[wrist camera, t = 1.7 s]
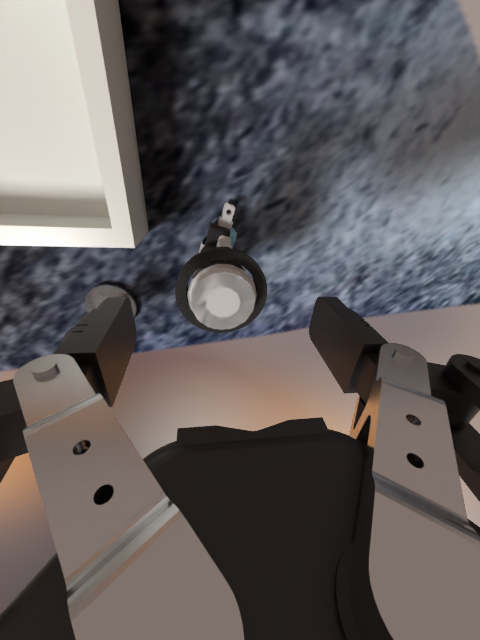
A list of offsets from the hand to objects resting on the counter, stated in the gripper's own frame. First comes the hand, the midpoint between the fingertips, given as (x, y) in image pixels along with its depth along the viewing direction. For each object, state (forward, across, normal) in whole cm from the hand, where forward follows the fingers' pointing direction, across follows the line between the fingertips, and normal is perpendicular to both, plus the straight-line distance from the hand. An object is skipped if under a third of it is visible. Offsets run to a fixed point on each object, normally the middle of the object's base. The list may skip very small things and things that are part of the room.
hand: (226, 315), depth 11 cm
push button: (+13, 0, 0) cm, 13 cm away
